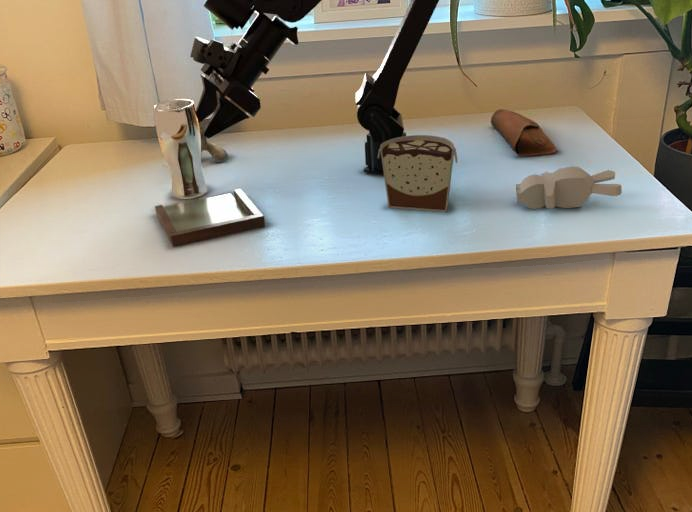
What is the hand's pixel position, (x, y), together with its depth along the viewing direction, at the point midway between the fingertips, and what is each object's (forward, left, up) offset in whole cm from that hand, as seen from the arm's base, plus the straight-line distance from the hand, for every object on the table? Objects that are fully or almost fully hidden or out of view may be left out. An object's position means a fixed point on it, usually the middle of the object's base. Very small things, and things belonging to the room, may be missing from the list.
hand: (200, 129), depth 125 cm
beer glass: (+2, +3, -11) cm, 11 cm away
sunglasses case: (-43, -41, -11) cm, 60 cm away
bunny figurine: (-58, -14, -11) cm, 61 cm away
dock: (-8, +11, -10) cm, 17 cm away
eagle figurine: (+11, -13, -11) cm, 20 cm away
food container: (-37, -7, -11) cm, 39 cm away
